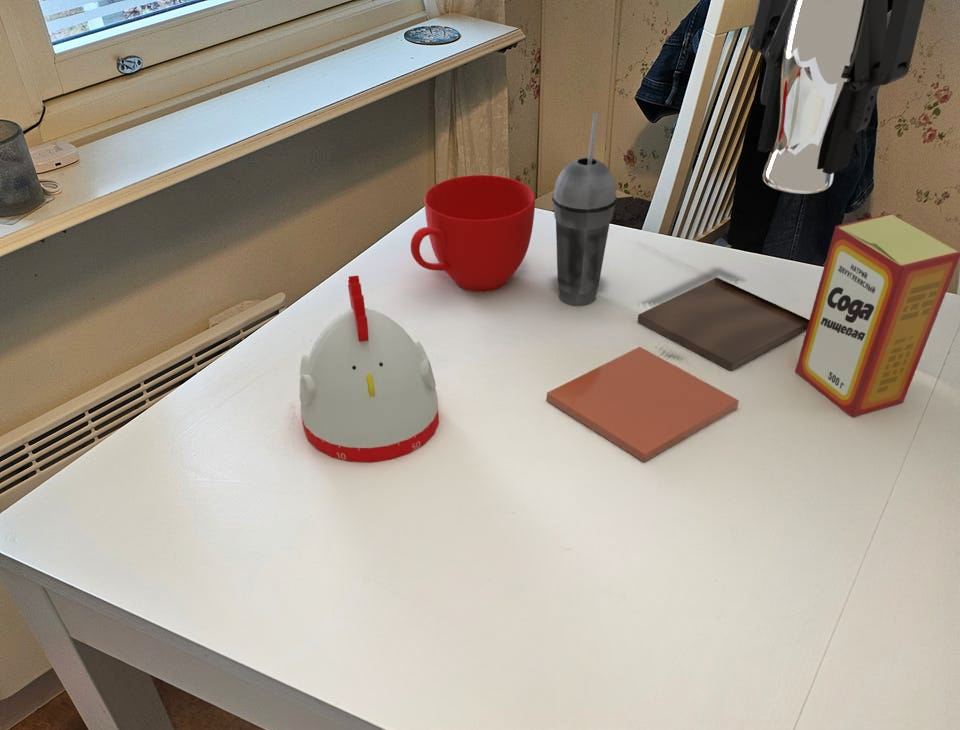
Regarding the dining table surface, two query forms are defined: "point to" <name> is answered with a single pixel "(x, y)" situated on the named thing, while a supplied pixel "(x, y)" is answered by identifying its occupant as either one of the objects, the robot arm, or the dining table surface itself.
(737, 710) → the dining table surface
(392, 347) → the kitchen timer
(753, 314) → the walnut board
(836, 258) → the baking soda box
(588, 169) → the beverage cup
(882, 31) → the robot arm
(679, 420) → the terracotta tile
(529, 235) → the ceramic cup
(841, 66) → the beer glass
